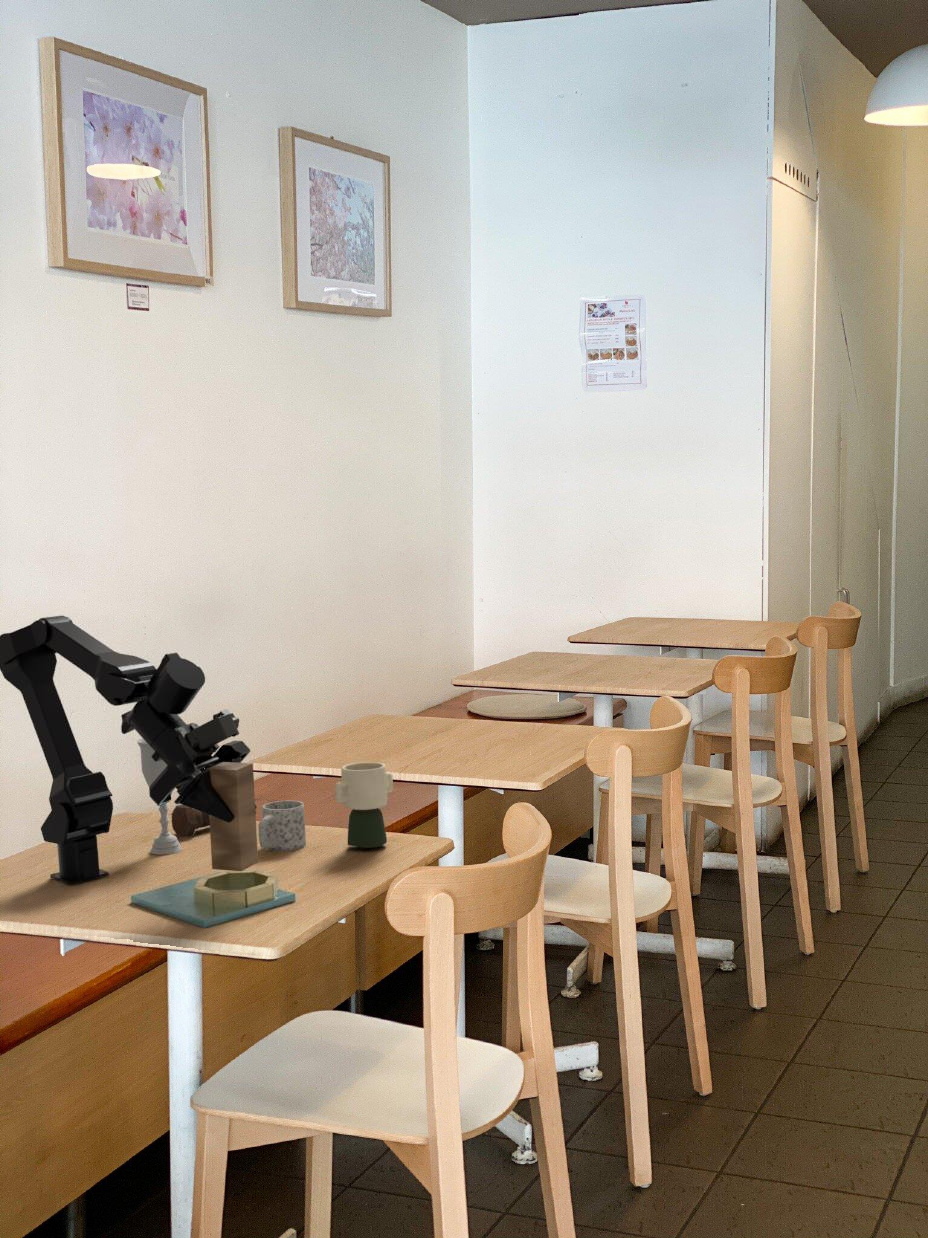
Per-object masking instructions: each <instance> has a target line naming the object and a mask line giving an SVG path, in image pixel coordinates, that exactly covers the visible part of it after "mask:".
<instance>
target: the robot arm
mask: <svg viewBox="0 0 928 1238" xmlns="http://www.w3.org/2000/svg"><path fill="white" fill-rule="evenodd" d="M56 654H58V655H60V656H61V657H63V658H64V660H67V661H68V662H70V663H71V664H72V665H73V666H75V667H76V668H78V669H80V670H81V671H82V672H84V673H85V674H87V676H90V677H91V678H92V679H93V681H94V687H95V690H96V692H98V693H99V695H100V696H102V697H103V699H105V700H106V701H107V703H109V704H110V705H111V706H114V707H115V706H116V707H117V706H123V705H129V704H133V703H135V705H134V706H133V707H132V708H131V710H129V711H126V712H125V713H123V714H121V721H122V722H121V726H120V730H121V731H120V732H121V734H122V735H125V734H127V733H130V732H132V731H134V730H135V731H136V733H137V734H138V735H139V736H140V737H141V739H142V738H143V739H144V740H145V741H146V742H147V744H148V745H149V746H150V747H151V748H152V749H153V750H154V751H155V753H154V754H153V755H152V756H151V757H152V758H153V759H154V761H155V762H157V761H160V760H163V761H164V762H165V764H166V765H167V767H166V768H165V769H164V770H163V771H162V772H161V774H160V775H159V776H158V777H157V778H156V780H155V781H154V782H153V783H152V784H151V785H150V787H149V786H148V788H149V789H148V792H149V793H148V794H149V797H150V799H151V800H152V801H153V802H154V803H155V805H157V807H160V806H161V805H163V804H168V803H170V802H171V801H172V794H171V792H172V791H174V790H175V789H176V793H177V794H178V796H177V798H176V799H175V800H174V801H173V803H174V804H175V805H185V806H188V807H190V808H193V809H196V810H199V811H202V812H204V813H207V814H209V815H212V816H214V817H216V818H219V819H221V820H224V821H226V822H231V821H232V820H233V819H234V815H233V813H232V812H231V810H230V809H229V807H228V806H227V805H226V803H225V802H224V801H223V799H222V798H221V797H220V796H219V794H218V793H217V792H216V790H215V789H214V788H213V786H212V784H211V776H210V770H207V769H208V768H210V767H213V766H215V765H218V764H220V763H223V762H234V763H243V761H244V760H245V759H246V757H247V756H248V755H250V753H251V749H250V747H248V746H247V745H246V743H245V742H244V741H243V740H233V741H229V742H226V743H224V744H222V745H221V746H220V745H219V743H221V742H224V741H225V740H227V739H229V738H231V737H233V738H234V737H237V736H238V735H240V732H239V730H238V728H239V725H240V724H239V723H240V718H239V717H236V715H235V714H234V713H233V712H231V711H230V710H228V709H227V708H226V709H223V710H221V711H219V712H217V713H215V714H213V715H212V719H211V720H209V721H207V722H205V723H203V724H201V725H198V724H197V723H195V722H191V723H188V724H187V723H186V722H185V721H184V720H183V719H182V717H181V716H179V715H181V714H183V713H185V711H187V710H188V707H189V706H190V705H191V704H192V702H193V701H194V699H195V698H196V696H197V695H198V693H199V692H200V690H201V689H202V688H203V686H204V684H205V682H206V676H205V672H204V671H203V669H202V668H201V667H200V666H199V665H197V664H196V663H194V662H192V661H190V660H189V659H187V658H183V657H181V656H180V655H179V653H178V652H169V653H165V654H164V656H163V657H162V659H161V661H160V663H159V665H158V667H157V668H156V666H155V665H154V664H153V663H152V662H150V661H148V660H146V659H144V658H141V657H138V656H136V655H130V654H124V653H120V652H117V651H115V650H114V649H112V648H110V647H109V646H107V645H106V644H104V643H103V642H101V641H100V640H98V639H97V638H95V637H94V636H93V635H91V634H89V633H88V632H87V631H85V630H83V629H82V628H80V626H78V625H76V624H75V623H74V622H73V620H72V619H71V618H70V617H68V616H65V615H55V616H47V617H46V616H45V617H41V618H39V619H37V620H35V621H34V622H32V623H31V624H28V625H26V626H24V627H22V628H19V629H16V630H14V631H11V632H5V633H2V634H0V672H1V674H2V676H3V679H5V680H6V681H7V682H9V684H11V685H12V686H13V687H14V688H16V689H17V690H18V691H19V692H20V693H21V696H22V698H23V701H24V704H25V706H26V709H27V712H28V715H29V717H30V720H31V723H32V725H33V728H34V731H35V733H36V736H37V739H38V741H39V744H40V747H41V750H42V753H43V755H44V757H45V761H46V763H47V766H48V769H49V772H50V775H51V776H52V783H51V787H50V792H49V797H48V802H49V805H50V809H51V810H50V812H49V813H48V815H47V817H46V818H45V820H44V822H43V823H42V825H41V826H40V831H41V833H42V834H41V835H42V838H43V841H44V842H47V843H51V844H56V845H57V859H58V872H54V873H51V874H50V875H49V876H50V879H52V880H56V881H58V882H62V883H65V884H68V885H75V884H79V883H83V882H87V881H91V880H95V879H100V878H103V877H107V876H109V875H110V872H109V871H107V870H104V869H100V861H99V860H100V859H99V858H100V857H99V847H98V838H97V837H98V836H99V835H102V834H108V833H109V832H110V828H111V824H112V822H111V821H112V817H113V811H114V810H113V809H114V803H113V798H112V797H113V793H112V792H111V790H110V789H109V787H108V783H107V780H106V776H105V775H104V774H103V772H102V771H96V772H93V771H92V770H90V769H89V768H88V767H87V766H86V764H85V762H84V758H83V756H82V754H81V750H80V748H79V746H78V743H77V740H76V737H75V734H74V733H73V729H72V727H71V725H70V721H69V719H68V716H67V714H66V711H65V707H64V706H63V703H62V701H61V697H60V695H59V693H58V690H57V687H56V685H55V681H54V676H55V671H56V668H57V663H58V660H57V655H56ZM172 793H173V792H172Z"/></svg>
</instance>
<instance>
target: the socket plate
mask: <svg viewBox="0 0 928 1238" xmlns="http://www.w3.org/2000/svg"><path fill="white" fill-rule="evenodd" d="M278 876H279V875H277V874H275V873H272V872H268V871H264V870H260V869H245V870H243V871H231V870H224V871H218V872H215V873H211V874H210V873H209V874H207V875H204V876H200V877H196V878H193V879H189V880H185V881H181V882H178V883H173V884H169V885H166V886H162V887H158V888H154V889H151V890H148V891H143V892H140V893H136V894H133V895H130V902H131V903H132V904H134V905H137V906H140V907H143V908H146V909H148V910H151V911H154V912H157V913H161V914H162V915H166V916H169V917H171V918H174V919H177V920H180V921H182V922H186V923H189V924H192V925H194V926H197V927H201V928H203V929H205V928H208V927H212V926H216V925H218V924H222V923H226V922H229V921H233V920H235V919H239V918H242V917H246V916H250V915H253V914H256V913H259V912H263V911H266V910H270V909H272V908H276V907H280V906H283V905H286V904H290V903H293V902H296V899H297V898H296V893H294V892H291V891H287V890H283V889H280V888H279V877H278Z"/></svg>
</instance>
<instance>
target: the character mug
mask: <svg viewBox="0 0 928 1238" xmlns="http://www.w3.org/2000/svg"><path fill="white" fill-rule="evenodd" d="M340 769H341V770H340V772H341V773H340V774H341V781H338V782H336V783H335V785H334V794H335V797H334V798H335V801H336V803H337V804H342V803H343V806H344V807H345V808H347V809H349V810H350V809H351V811H350V814H349V816H348V828H347V846H350V847H351V846H352V847H357V848H358V850H361V849H363V848H364V849H365V848H366V849H367V848H379V847H382V846H384V845H386V844H387V842H388V838H387V831H386V825H385V822H384V815H383V812H382V810H381V809H380V808H382V807H385V806H386V805H387V804H388V794H389V793H391V792H392V791H394V782H393V781H394V780H393V778H394V777H393V774H392V772H389V771H388V772H387V768H386V764H385V763H382V762H377V761H376V762H374V761H363V762H362V761H361V762H360V761H359V762H353V763H348V764H344V765H343V766H341V768H340Z"/></svg>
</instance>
